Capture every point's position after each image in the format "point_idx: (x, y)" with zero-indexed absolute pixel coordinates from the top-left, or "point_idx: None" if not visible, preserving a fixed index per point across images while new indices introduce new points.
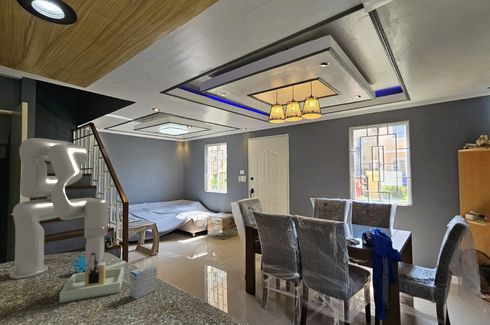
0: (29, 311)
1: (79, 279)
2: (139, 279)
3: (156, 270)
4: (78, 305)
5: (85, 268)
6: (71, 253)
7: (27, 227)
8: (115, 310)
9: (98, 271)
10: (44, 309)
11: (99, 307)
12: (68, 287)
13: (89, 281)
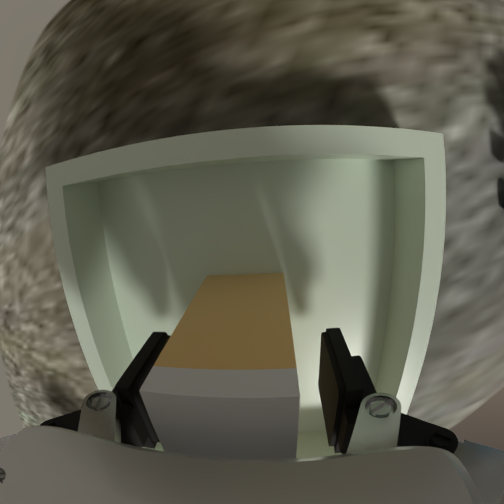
0: (67, 59)
1: (401, 189)
2: None
3: None
4: (55, 280)
5: (144, 383)
6: None
7: None
8: (40, 397)
9: (149, 445)
10: (56, 120)
11: (46, 360)
12: (172, 167)
13: (148, 346)
